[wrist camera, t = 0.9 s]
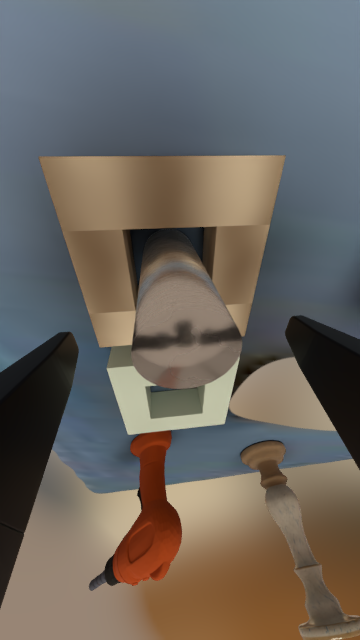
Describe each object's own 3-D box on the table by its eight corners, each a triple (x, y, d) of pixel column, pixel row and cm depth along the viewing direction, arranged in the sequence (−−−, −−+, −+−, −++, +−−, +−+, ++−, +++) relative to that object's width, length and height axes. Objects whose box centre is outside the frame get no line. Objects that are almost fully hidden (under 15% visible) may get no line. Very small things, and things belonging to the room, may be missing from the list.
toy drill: (90, 480, 37) (66, 628, 24) (152, 418, 31) (164, 565, 19) (114, 483, 39) (105, 620, 26) (176, 426, 34) (202, 563, 21)
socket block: (257, 159, 13) (285, 155, 10) (231, 313, 20) (244, 335, 17) (64, 160, 12) (38, 156, 9) (107, 321, 19) (99, 347, 16)
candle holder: (286, 436, 38) (385, 632, 22) (280, 455, 44) (357, 625, 27) (240, 445, 38) (305, 647, 22) (239, 462, 44) (292, 637, 27)
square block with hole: (228, 332, 22) (239, 356, 19) (217, 399, 29) (224, 423, 26) (112, 341, 21) (106, 368, 18) (130, 408, 28) (128, 434, 25)
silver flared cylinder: (194, 227, 15) (251, 303, 6) (192, 277, 18) (233, 384, 9) (140, 229, 15) (121, 311, 6) (146, 280, 17) (138, 393, 8)
